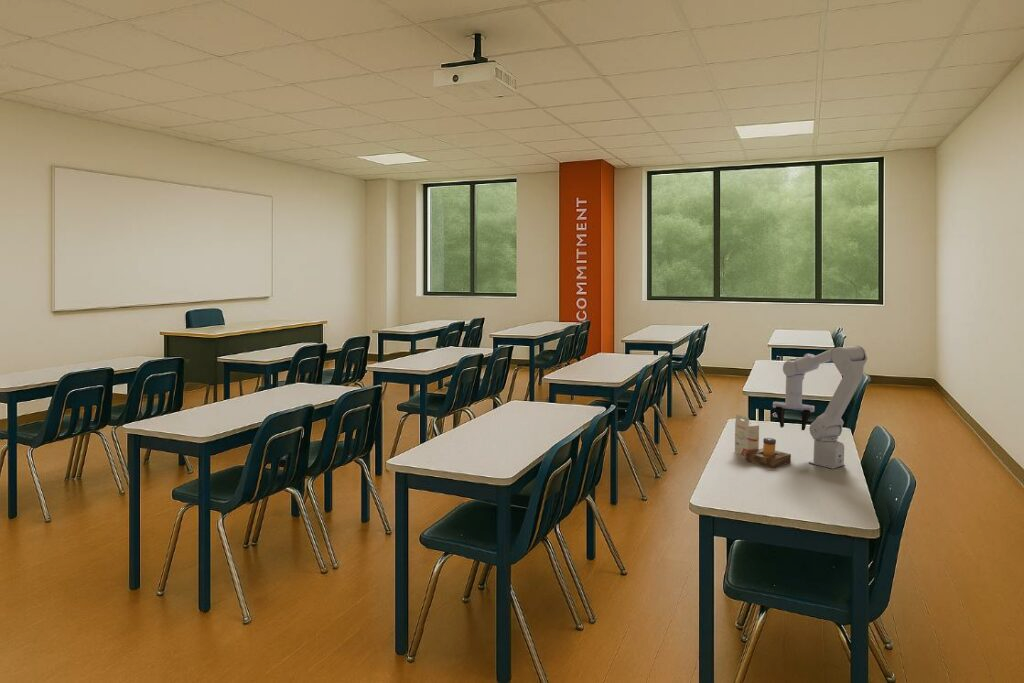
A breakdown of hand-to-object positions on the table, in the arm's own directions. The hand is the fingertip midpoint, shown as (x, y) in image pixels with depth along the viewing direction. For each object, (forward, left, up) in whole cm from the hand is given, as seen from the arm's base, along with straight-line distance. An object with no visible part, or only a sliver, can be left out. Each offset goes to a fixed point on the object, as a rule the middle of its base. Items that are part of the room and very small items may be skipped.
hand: (792, 428), depth 266 cm
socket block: (-1, +17, -9) cm, 19 cm away
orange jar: (-1, +17, -9) cm, 19 cm away
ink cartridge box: (+10, +14, -10) cm, 20 cm away
